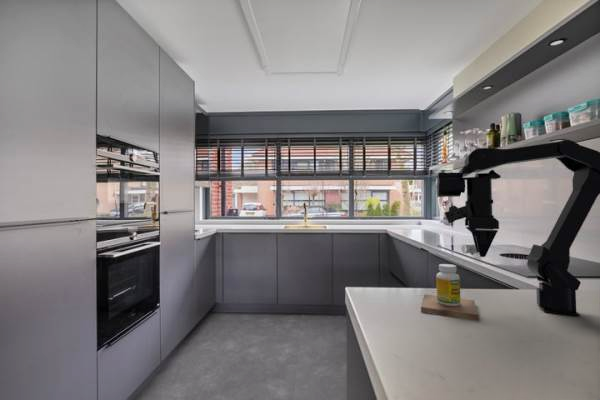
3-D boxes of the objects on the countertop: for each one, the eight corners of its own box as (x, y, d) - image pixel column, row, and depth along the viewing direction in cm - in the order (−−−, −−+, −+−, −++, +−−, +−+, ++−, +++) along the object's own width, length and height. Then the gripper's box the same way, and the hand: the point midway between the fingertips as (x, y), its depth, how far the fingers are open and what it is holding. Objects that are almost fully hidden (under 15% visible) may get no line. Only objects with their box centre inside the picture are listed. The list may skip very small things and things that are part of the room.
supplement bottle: (444, 298, 77) (443, 262, 77) (464, 304, 72) (463, 265, 73) (432, 302, 74) (431, 264, 74) (453, 308, 70) (452, 268, 70)
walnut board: (474, 304, 76) (473, 300, 76) (478, 320, 65) (478, 314, 65) (424, 298, 81) (424, 294, 81) (421, 311, 71) (420, 306, 71)
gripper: (445, 198, 90) (446, 248, 89) (445, 195, 73) (446, 257, 73) (488, 197, 85) (489, 250, 84) (498, 194, 68) (500, 260, 67)
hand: (480, 254), depth 77 cm, fingers open, 9 cm apart
